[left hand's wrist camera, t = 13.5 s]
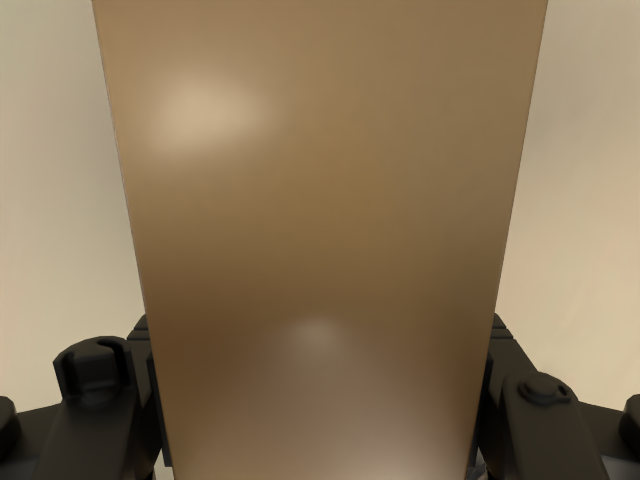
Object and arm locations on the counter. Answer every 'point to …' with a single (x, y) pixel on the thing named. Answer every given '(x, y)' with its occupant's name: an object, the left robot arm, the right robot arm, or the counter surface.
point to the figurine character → (477, 473)
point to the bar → (319, 222)
